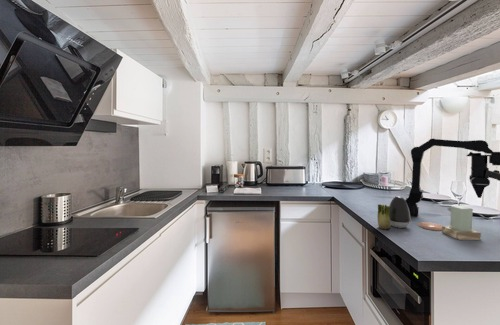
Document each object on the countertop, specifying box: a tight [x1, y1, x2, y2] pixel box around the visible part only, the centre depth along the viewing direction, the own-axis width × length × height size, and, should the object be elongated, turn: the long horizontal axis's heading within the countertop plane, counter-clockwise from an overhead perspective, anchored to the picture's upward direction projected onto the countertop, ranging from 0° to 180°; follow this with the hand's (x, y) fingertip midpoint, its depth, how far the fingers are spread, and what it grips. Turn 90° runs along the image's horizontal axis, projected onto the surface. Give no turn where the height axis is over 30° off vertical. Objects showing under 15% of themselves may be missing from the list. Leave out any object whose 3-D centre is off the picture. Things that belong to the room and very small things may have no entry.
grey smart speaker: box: [388, 195, 412, 229], centre depth 117 cm, size 10×10×15 cm
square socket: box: [441, 225, 482, 241], centre depth 104 cm, size 9×9×3 cm
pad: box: [418, 221, 443, 232], centre depth 115 cm, size 10×10×1 cm
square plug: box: [449, 205, 474, 232], centre depth 103 cm, size 5×5×13 cm
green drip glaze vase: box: [377, 203, 391, 230], centre depth 114 cm, size 6×5×12 cm
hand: (478, 196), depth 117 cm, fingers open, 9 cm apart
